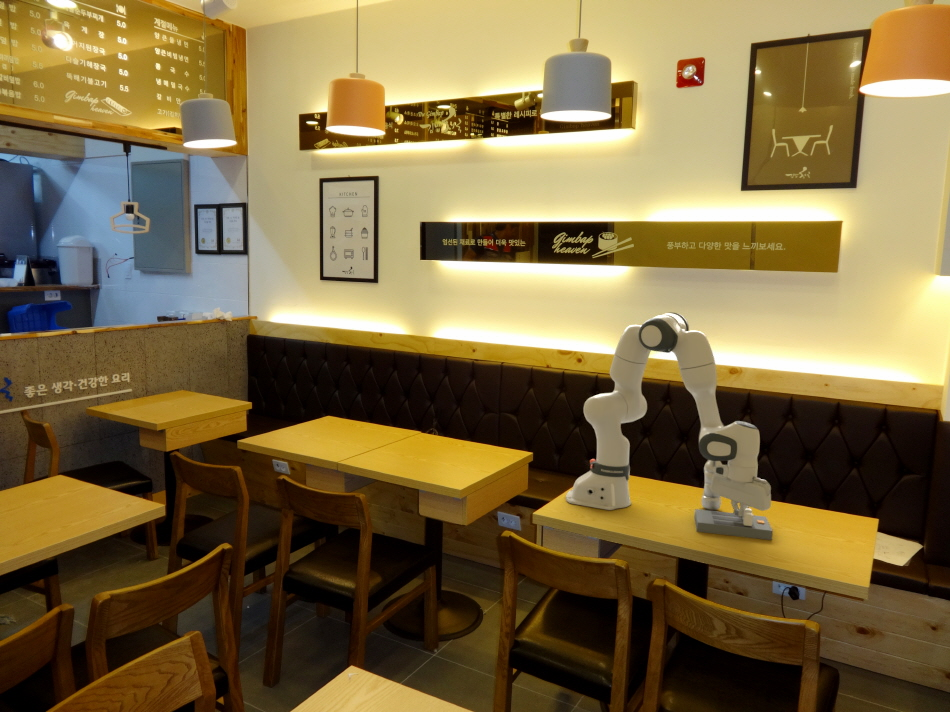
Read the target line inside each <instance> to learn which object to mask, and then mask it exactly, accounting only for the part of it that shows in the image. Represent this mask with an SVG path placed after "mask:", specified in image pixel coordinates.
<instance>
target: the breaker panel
mask: <svg viewBox="0 0 950 712" xmlns="http://www.w3.org/2000/svg"><path fill="white" fill-rule="evenodd" d="M742 518H743V516H741V517H740V516H737V515H734V514H733V512H725V511H719V510H708V509H700V508H695V510H694V524H695V528H696V532H699V533H707V534H716V535H717V534H718V535H722V536H724V535H726V536H730V537H731V536H734V537H741V538H748V539H749V538H751V539H758V540H760V539H761V540H767V541H772V540H773V529H772V527H771V524H770V522H769V520H768V518H767V516H764V515H762V516H761V515H754V514H753V522H752V526H746V525H744V524H743V519H742Z"/></svg>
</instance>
